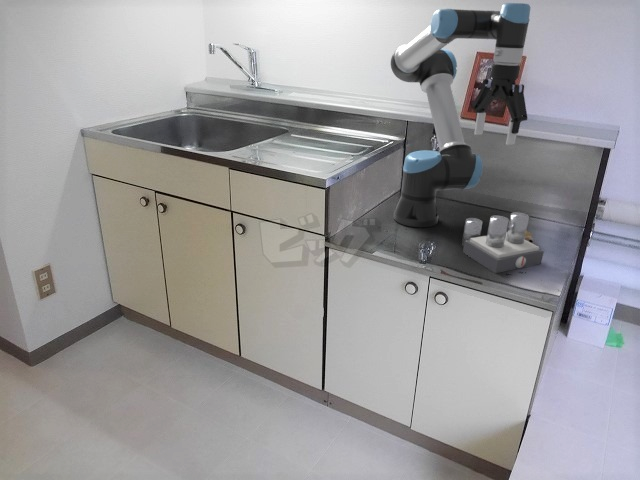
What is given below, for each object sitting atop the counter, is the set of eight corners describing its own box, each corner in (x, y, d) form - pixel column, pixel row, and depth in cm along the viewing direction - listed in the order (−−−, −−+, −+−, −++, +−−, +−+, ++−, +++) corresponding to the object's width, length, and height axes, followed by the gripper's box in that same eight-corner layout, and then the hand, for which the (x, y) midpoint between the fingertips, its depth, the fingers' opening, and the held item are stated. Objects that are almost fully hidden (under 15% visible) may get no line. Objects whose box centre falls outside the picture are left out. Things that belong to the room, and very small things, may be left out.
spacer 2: (481, 242, 149) (486, 216, 146) (495, 240, 151) (500, 214, 148) (493, 249, 145) (498, 222, 142) (507, 246, 147) (512, 220, 144)
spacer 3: (502, 238, 152) (507, 213, 149) (515, 236, 154) (520, 211, 151) (514, 245, 148) (519, 219, 145) (527, 242, 150) (533, 217, 147)
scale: (462, 252, 154) (465, 237, 152) (506, 244, 161) (509, 230, 159) (497, 274, 142) (500, 257, 140) (542, 264, 148) (546, 248, 146)
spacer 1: (458, 242, 161) (462, 219, 157) (471, 240, 163) (475, 217, 159) (468, 249, 157) (472, 224, 153) (481, 246, 159) (486, 222, 155)
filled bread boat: (517, 231, 172) (519, 219, 170) (536, 249, 159) (539, 236, 157) (502, 231, 171) (504, 218, 170) (519, 249, 159) (522, 236, 157)
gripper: (466, 59, 153) (456, 131, 161) (529, 68, 132) (514, 150, 141) (486, 59, 156) (475, 129, 164) (551, 68, 135) (535, 148, 144)
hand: (493, 139), depth 152 cm, fingers open, 13 cm apart
